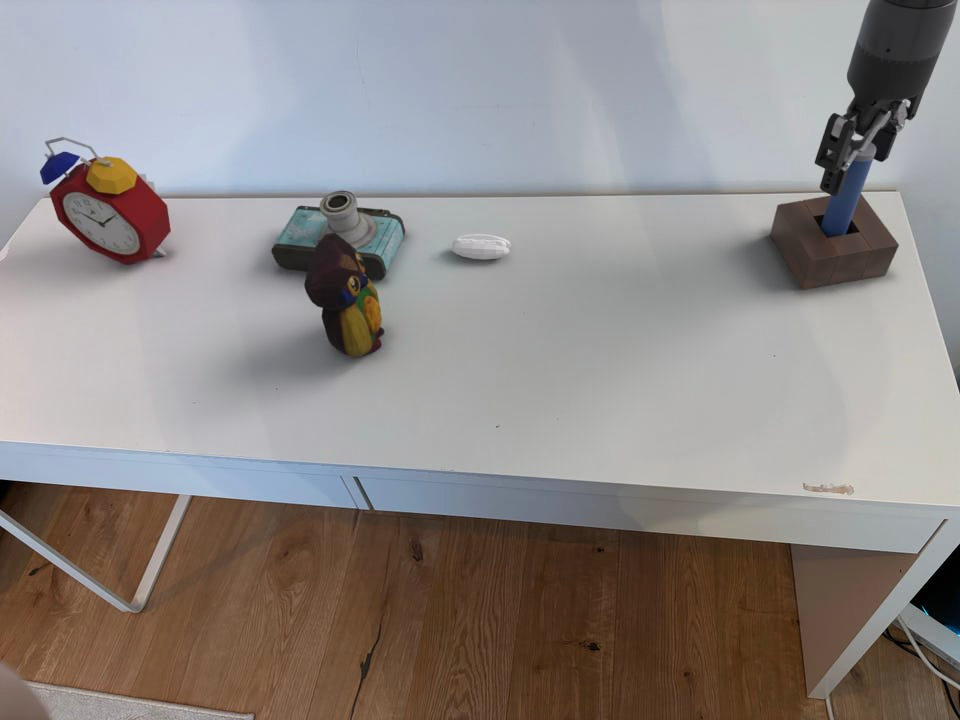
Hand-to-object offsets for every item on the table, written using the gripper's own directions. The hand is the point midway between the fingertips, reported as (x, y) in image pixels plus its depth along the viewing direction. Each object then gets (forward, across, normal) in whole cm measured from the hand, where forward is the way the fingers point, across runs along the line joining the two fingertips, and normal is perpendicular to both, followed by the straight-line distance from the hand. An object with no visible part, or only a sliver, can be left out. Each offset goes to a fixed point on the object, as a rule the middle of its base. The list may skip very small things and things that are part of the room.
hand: (853, 174), depth 83 cm
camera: (+12, -45, +46) cm, 65 cm away
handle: (+12, 0, 0) cm, 12 cm away
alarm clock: (+12, -68, +69) cm, 97 cm away
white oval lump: (+13, -32, +31) cm, 46 cm away
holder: (+12, 0, 0) cm, 12 cm away
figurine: (+13, -52, +29) cm, 61 cm away
